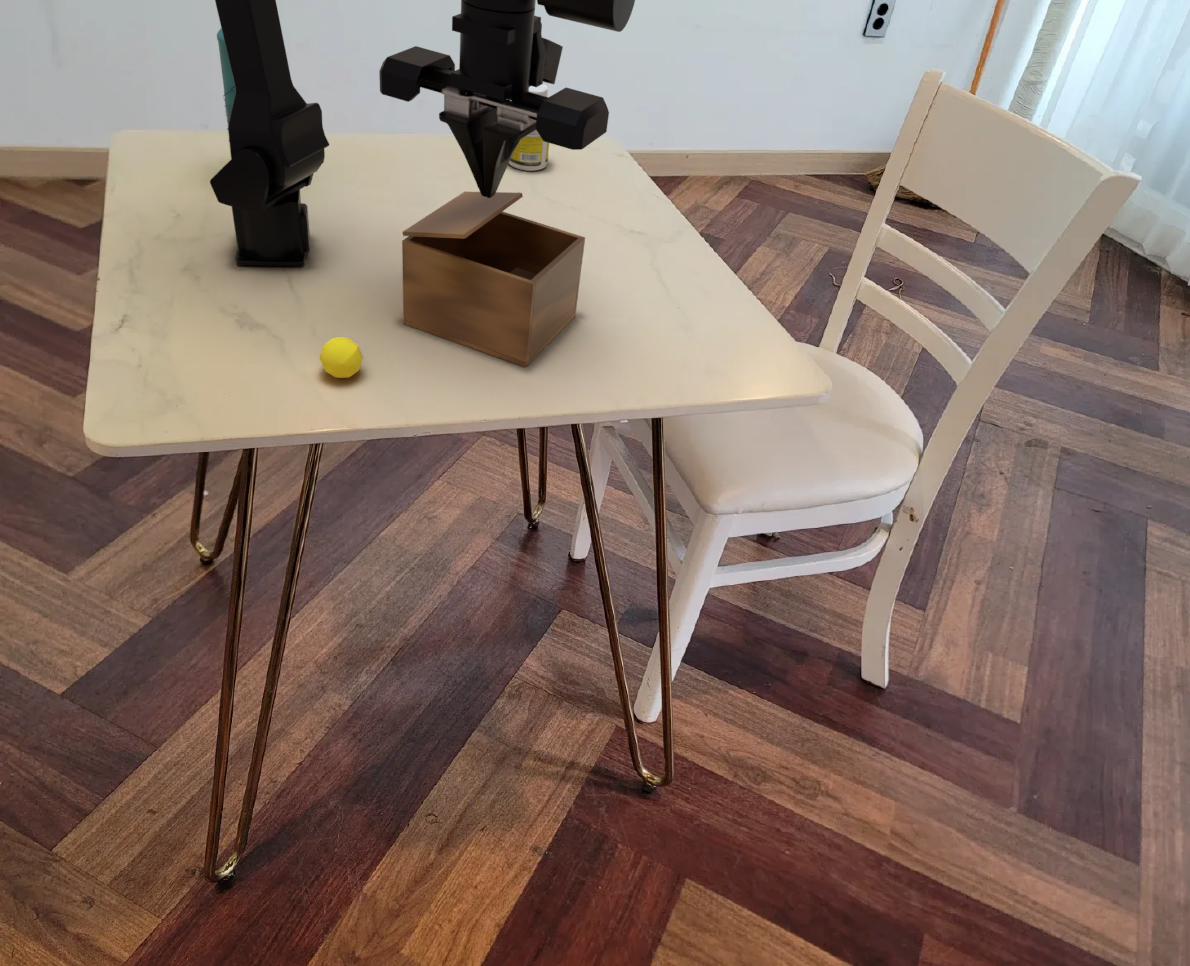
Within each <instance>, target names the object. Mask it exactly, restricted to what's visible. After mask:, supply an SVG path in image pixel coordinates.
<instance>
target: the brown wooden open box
mask: <svg viewBox="0 0 1190 966" xmlns="http://www.w3.org/2000/svg"><path fill="white" fill-rule="evenodd" d="M585 243H586V237H585V236H583V235H580V234H575V233H573V232H570V231H566V230H564V229H560V228H557V227H553V226H550V225H547V224H544V223H540V222H537V221H535V220H531V219H528V218H524V217H522V216H519V215H515V214H512V213H509V212H506V211H502V212H501V213H500V214H498V215H497V216H496V217H494V218H493V219H491V220H490V221H489V222H487V223H486V224H484V225H483V226H482V227H480V228H479V229H478V230H476V231H475V232H473V233H472V234H471V235H469V236H468V237H467V238H465V239H460V238H438V237H417V236H406V237H405V238H404V239H402V240H401V245H402V246H401V252H402V253H401V257H402V260H401V261H402V323H403V325H406V326H409V327H413V328H414V329H417V330H421V331H423V332H426V333H428V334H432V335H434V336H437V337H440V338H443V339H446V340H449V341H451V342H454V343H457V344H459V345H462V346H465V347H468V348H471V349H474V350H476V351H479V352H482V353H485V354H488V355H491V356H494V357H496V358H499V359H502V360H504V361H508V362H510V363H513V364H515V365H519V366H521V367H525V368H527V367H528V366H529V365H530V364H531V362H533V360H535V358H536V357H538V356H539V354H540V353H541V352H542V351H543V350H544V349H545V348H546V347H547V346H548V345H549V344H550V343H551V342H552V341H553V340H554V339H555V337H557V336H558V335H559V334H560V332H561V331H563V329H564V328H565V327H566V326H567V325H568V324H569V323H570V322H571V321H572V320H573V319H574V318H575V317H576V314H577V305H578V298H579V291H580V282H581V276H582V266H583V258H584V251H585V250H584V249H585ZM515 268H520V269H523V270H526V271H529V272H532V273H535V274H537V275H536V276H535V277H534V278H533V279H532V280H528V279H525V278H522V277H519V276H516V275H513V274H510V272H511V271H512V270H514V269H515Z"/></svg>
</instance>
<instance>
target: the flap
mask: <svg viewBox="0 0 1190 966" xmlns="http://www.w3.org/2000/svg"><path fill="white" fill-rule="evenodd" d="M523 196H524V195H523V192H504V191H503V192H500V191H496V193H495V195H494V196H492V197H491V198H487V197H484V196H482V195H481V193H480V191H463V192H461V193H460V194H459V195H456V197H454V198H452V199H451V200H449V201H448V202H446V203H445V204H442V206H440V207H439V208H437V209H435V210H433V211H432V212H431V213H429V214H428V215H426V216H425V217H423V218H421V219H420V220H418V221H417V222H415V223H413V224H412V225H411V226H409V227H407V228H406V229H405V230H403V231H402V236H403V237H408V236H417V237H438V238H460V239H465V238H467V237H468V236H469V235H471V234H472V233H473V232H475V231H476V230H478V229H479V228H480V227H482V226H483V225H484V224H486V223H487V222H489V221H490V220H491V219H493V218H494V217H496V216H497V215H498V214H500V213H501V212H502V211H503V212H505V210H507V209H508V208H510V207H511V206H513V205H514V204H515V203H517V202H518V201H519V200H521V199H522V198H524V197H523Z"/></svg>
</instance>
